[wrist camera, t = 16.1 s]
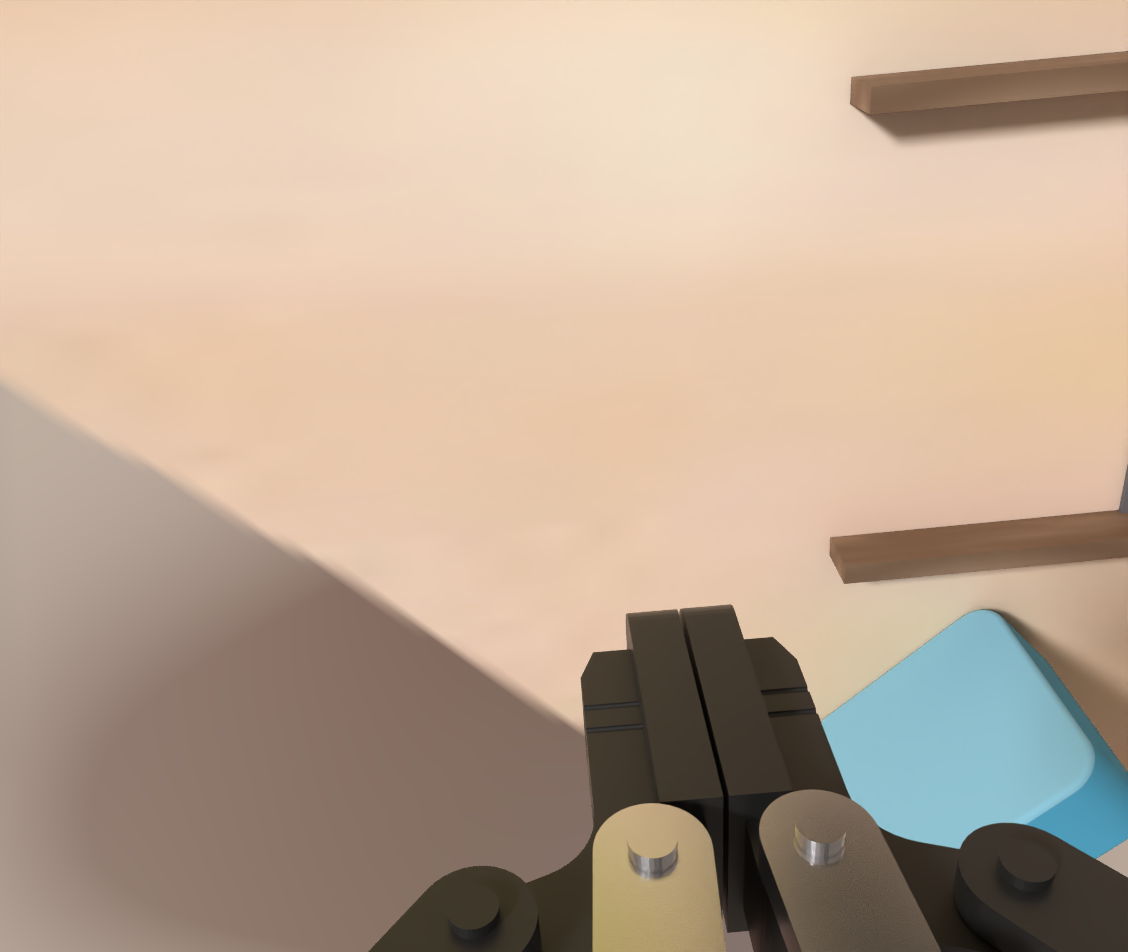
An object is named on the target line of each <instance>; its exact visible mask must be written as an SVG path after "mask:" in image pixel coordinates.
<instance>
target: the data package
mask: <svg viewBox="0 0 1128 952" xmlns="http://www.w3.org/2000/svg"><path fill="white" fill-rule="evenodd" d="M821 723H822V726H823V728H824V731H825V734H826V736H827V739H828V741H829V744H830V747H831V749H832V752H833V754H834V757H835V760H836V762H837V765H838V767H839V770H840V773H841V775H842V778H843V780H844V783H845V786H846V788H847V791H848V793H849V795H850V797H851V799H852V800H853V801H854V802H856V803H858V804H859V805H860V806H862V807H863V808H864V809H865V810H866V811H867V812H868V813H869V814H870V815H871V816H872V817H873V819H874V820H875V822H876V823H877V825H878V826H879V827H881V828H882V829H884V830H886V831H888V832H890V833H892V834H894V835H897V836H900V837H903V838H906V839H910V840H914V841H918V842H923V843H929V844H935V845H940V846H946V847H951V848H957V849H960V847H961V845H962V843H963V841H964V840H965V839H966V837H967V836H968V835H969V834H971V833H972V832H973V831H974V830H976V829H978V828H980V827H983V826H986V825H989V824H995V823H1018V824H1025V825H1029V826H1033V827H1036V828H1039V829H1041V830H1044V831H1046V832H1048V833H1050V834H1052V835H1054V836H1056V837H1058V838H1060V839H1062V840H1063V841H1065V842H1067V843H1069V844H1070V845H1072V846H1074V847H1075V848H1077V849H1079V850H1081V851H1082V852H1084V853H1086V854H1088V855H1089V856H1091V857H1093V858H1094V859H1096V858H1098V857H1100V856H1101V855H1103V854H1104V853H1106V852H1108V851H1109V850H1111V849H1112V848H1114V847H1116V846H1117V845H1119V844H1120V843H1122V842H1124V841H1125V840H1127V839H1128V772H1127V771H1126V769H1125V768H1124V767H1123V765H1122V764H1121V763H1120V761H1119V760H1118V758H1117V757H1116V756H1115V754H1114V753H1113V752H1112V750H1111V749H1110V747H1109V746H1108V745H1107V743H1106V742H1105V741H1104V739H1103V738H1102V736H1101V735H1100V734H1099V732H1098V731H1097V729H1096V728H1095V727H1094V725H1093V724H1092V723H1091V721H1090V720H1089V718H1088V717H1087V716H1086V714H1085V713H1084V712H1083V710H1082V709H1081V707H1080V706H1079V705H1078V703H1077V702H1076V701H1075V699H1074V698H1073V696H1072V695H1071V694H1070V692H1069V691H1068V689H1067V688H1066V687H1065V685H1064V684H1063V683H1062V681H1061V680H1060V678H1059V677H1058V676H1057V674H1056V673H1055V672H1054V670H1053V669H1052V667H1051V666H1050V665H1049V663H1048V662H1047V661H1046V660H1045V659H1044V658H1043V657H1042V656H1041V655H1040V654H1039V653H1038V652H1037V651H1036V650H1035V649H1034V648H1033V647H1032V646H1031V645H1030V644H1029V643H1028V642H1027V641H1026V640H1025V639H1024V638H1023V637H1022V636H1021V635H1020V634H1019V633H1018V632H1017V631H1016V630H1015V629H1014V628H1013V627H1012V626H1011V625H1010V624H1009V623H1008V622H1007V621H1006V620H1005V619H1004V618H1003V617H1002V616H1000V615H999V614H998V613H996V612H994V611H991V610H976V611H973V612H970V613H968V614H966V615H964V616H962V617H961V618H960V619H958V620H957V621H955V622H954V623H953V624H951V625H950V626H949V627H947V628H946V629H945V630H943V631H942V632H941V633H939V634H938V635H937V636H935V637H934V638H932V639H931V640H930V641H928V642H927V643H926V644H924V645H923V646H922V647H920V648H919V649H918V650H916V651H915V652H914V653H912V654H911V655H910V656H908V657H907V658H905V659H904V660H903V661H901V662H900V663H899V664H897V665H896V666H895V667H893V668H892V669H891V670H889V671H888V672H887V673H885V674H884V675H883V676H881V677H880V678H878V679H877V680H876V681H874V682H873V683H872V684H870V685H869V686H868V687H866V688H865V689H864V690H862V691H861V692H860V693H858V694H857V695H856V696H854V697H853V698H851V699H850V700H849V701H847V702H846V703H845V704H843V705H842V706H841V707H839V708H838V709H837V710H835V711H834V712H833V713H831V714H830V715H829V716H827V717H826V718H825V719H824V720H823V721H822V722H821Z"/></svg>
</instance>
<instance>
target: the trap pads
mask: <svg viewBox="0 0 1128 952" xmlns="http://www.w3.org/2000/svg"><path fill="white" fill-rule="evenodd" d="M1119 511H1120V512H1121V513H1128V466H1127V472H1126V477H1125V482H1124V487H1123V492H1122V497H1121V502H1120V507H1119Z"/></svg>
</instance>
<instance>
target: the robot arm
mask: <svg viewBox="0 0 1128 952" xmlns="http://www.w3.org/2000/svg"><path fill="white" fill-rule="evenodd" d="M626 636H627V650H617V651H606V652H594V653H593V654H592V656H591V658H590V660H589V662H588V664H587V666H586V668H585V670H584V672H583V674H582V677H581V688H582V701H583V715H584V728H585V740H586V754H587V765H588V776H589V786H590V797H591V807H592V818H593V832H592V834H591V837H590V839H589V841H588V843H587V845H586V846H585V848H584V849H583V850H582V852H581V853H580V854H579V855H578V856H577V857H576V858H575V859H574V860H573V861H571V862H570V863H569V864H567V865H566V866H564V867H563V868H561V869H559V870H558V871H555V872H553V873H551V874H549V875H546V876H544V877H541V878H538V879H536V880H533V881H531V882H528V883H525V882H524V881H523V880H522V879H521V878H519V877H518V876H516V875H515V874H513V873H511V872H509V871H507V870H504V869H501V868H497V867H490V866H473V867H468V868H463V869H460V870H457V871H454V872H452V873H450V874H448V875H446V876H444V877H442V878H441V879H439V880H438V881H436V882H435V883H434V884H433V885H432V886H430V887H429V888H428V889H427V890H426V891H425V892H424V893H423V894H422V896H421V897H420V898H419V899H418V900H417V901H416V902H415V903H414V904H413V905H412V906H411V907H410V908H409V909H408V910H407V911H406V913H405V914H404V915H403V916H402V917H401V918H400V919H399V920H398V921H397V922H396V923H395V924H394V925H393V926H392V927H391V928H390V929H389V930H388V932H387V933H386V934H385V935H384V936H383V937H382V938H381V939H380V940H379V941H378V942H377V943H376V944H375V945H374V946H373V947H372V949H371V950H370V951H369V952H726V949H725V948H726V947H725V939H724V931H723V923H722V910H723V914H724V919H725V923H726V928H727V932H728V933H729V932H741V931H749V934H750V938H751V942H752V946H753V950H754V952H1128V878H1127V877H1126V876H1124V875H1122V874H1120V873H1119V872H1117V871H1115V870H1113V869H1112V868H1110V867H1108V866H1107V865H1105V864H1103V863H1101V862H1100V861H1098V860H1096V859H1094V858H1093V857H1091V856H1089V855H1088V854H1086V853H1084V852H1082V851H1081V850H1079V849H1077V848H1075V847H1074V846H1072V845H1070V844H1069V843H1067V842H1065V841H1063V840H1062V839H1060V838H1058V837H1056V836H1054V835H1052V834H1050V833H1048V832H1046V831H1044V830H1041V829H1039V828H1036V827H1033V826H1029V825H1025V824H1018V823H995V824H989V825H986V826H983V827H980V828H978V829H976V830H974V831H973V832H972V833H971V834H969V835H968V836H967V837H966V839H965V840H964V841H963V843H962V845H961V847H960V849H957V848H951V847H946V846H940V845H935V844H929V843H923V842H918V841H914V840H910V839H906V838H903V837H900V836H897V835H894V834H892V833H890V832H888V831H886V830H884V829H882V828H881V827H879V826H878V825H877V823H876V822H875V820H874V819H873V817H872V816H871V815H870V814H869V813H868V812H867V811H866V810H865V809H864V808H863V807H862V806H860V805H859V804H858V803H856V802H854V801H853V800H852V799H851V797H850V795H849V793H848V791H847V788H846V786H845V783H844V780H843V778H842V775H841V773H840V770H839V767H838V765H837V762H836V760H835V757H834V754H833V752H832V749H831V747H830V744H829V741H828V739H827V736H826V734H825V731H824V728H823V726H822V723H821V721H820V718H819V716H818V714H816V708H815V705H814V703H813V700H812V697H811V695H810V692H808V690H807V684H806V682H805V679H804V677H803V674H802V671H801V669H800V666H799V664H798V661H797V659H796V658H795V657H794V656H793V655H792V654H791V653H789V652H788V651H787V650H786V649H785V648H784V647H783V646H782V645H781V644H780V643H779V642H778V641H777V640H776V639H774V638H773V637H768V638H756V639H745V640H744V638H743V635H742V632H741V629H740V626H739V623H738V620H737V617H736V614H735V611H734V608H733V606H732V605H720V606H708V607H696V608H684V609H680V612H679V613H678V611H677V609H675V610H663V611H651V612H639V613H627V614H626Z"/></svg>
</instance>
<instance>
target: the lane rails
mask: <svg viewBox="0 0 1128 952" xmlns="http://www.w3.org/2000/svg"><path fill="white" fill-rule="evenodd" d="M1117 91H1128V51H1126V52H1115V53H1104V54H1093V55H1083V56H1072V57H1061V58H1051V59H1040V60H1029V61H1018V62H1008V63H997V64H986V65H976V66H965V67H954V68H944V69H933V70H922V71H911V72H901V73H890V74H879V75H869V76H858V77H852V78H851V99H850V104H851V105H853V106H855V107H857V108H858V109H860V110H862V111H864V112H866V113H868V114H869V115H872V114H882V113H893V112H904V111H914V110H925V109H936V108H946V107H957V106H968V105H978V104H989V103H1000V102H1011V101H1021V100H1032V99H1043V98H1053V97H1064V96H1075V95H1085V94H1096V93H1107V92H1117ZM830 557H831V559H832V561H833V563H834V565H835V567H836V569H837V571H838V573H839V575H840V576H841V578H842V580H843V582H844V584H848V583H859V582H869V581H880V580H890V579H901V578H911V577H922V576H932V575H943V574H953V573H964V572H974V571H985V570H995V569H1006V568H1016V567H1027V566H1037V565H1048V564H1058V563H1069V562H1079V561H1090V560H1100V559H1111V558H1121V557H1128V513H1121V512H1120V511H1119V510H1116V511H1105V512H1095V513H1084V514H1074V515H1063V516H1053V517H1042V518H1032V519H1021V520H1010V521H1000V522H989V523H979V524H968V525H958V526H947V527H937V528H926V529H916V530H905V531H895V532H884V533H874V534H863V535H853V536H842V537H832V538H830Z"/></svg>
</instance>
